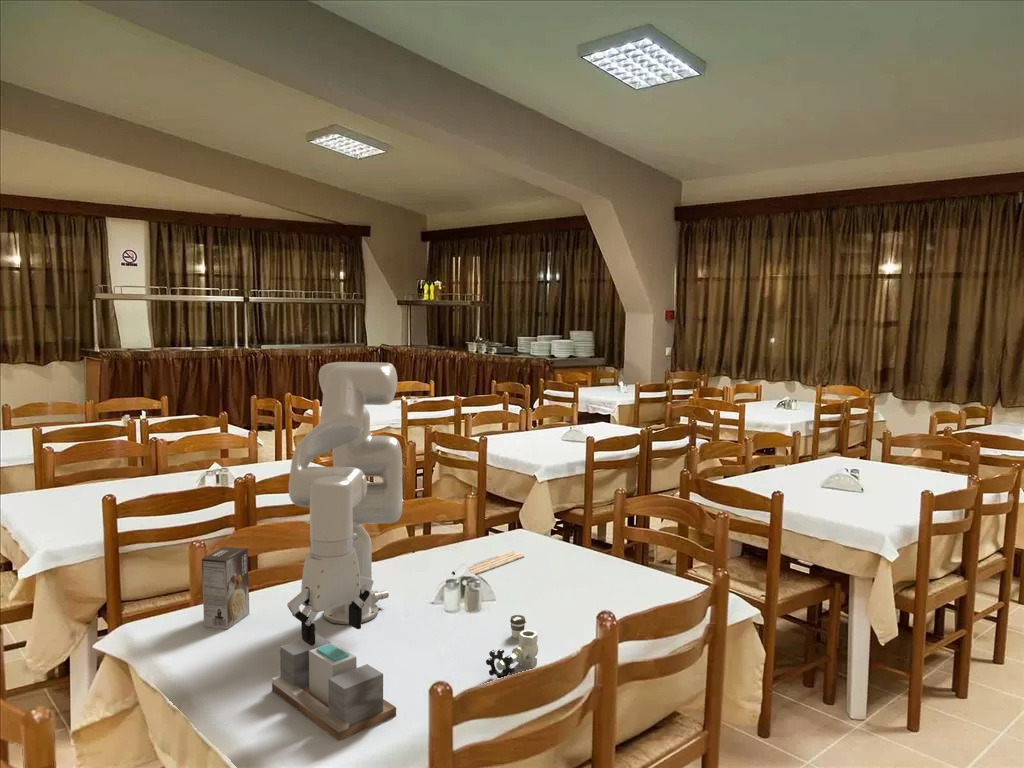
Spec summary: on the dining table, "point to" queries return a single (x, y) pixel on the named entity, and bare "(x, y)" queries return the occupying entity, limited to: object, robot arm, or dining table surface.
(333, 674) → the module block
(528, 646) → the valve
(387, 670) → the dining table surface
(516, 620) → the coffee cup
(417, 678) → the dining table surface
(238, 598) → the coffee box
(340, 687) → the mounting plate
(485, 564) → the striped wooden board
